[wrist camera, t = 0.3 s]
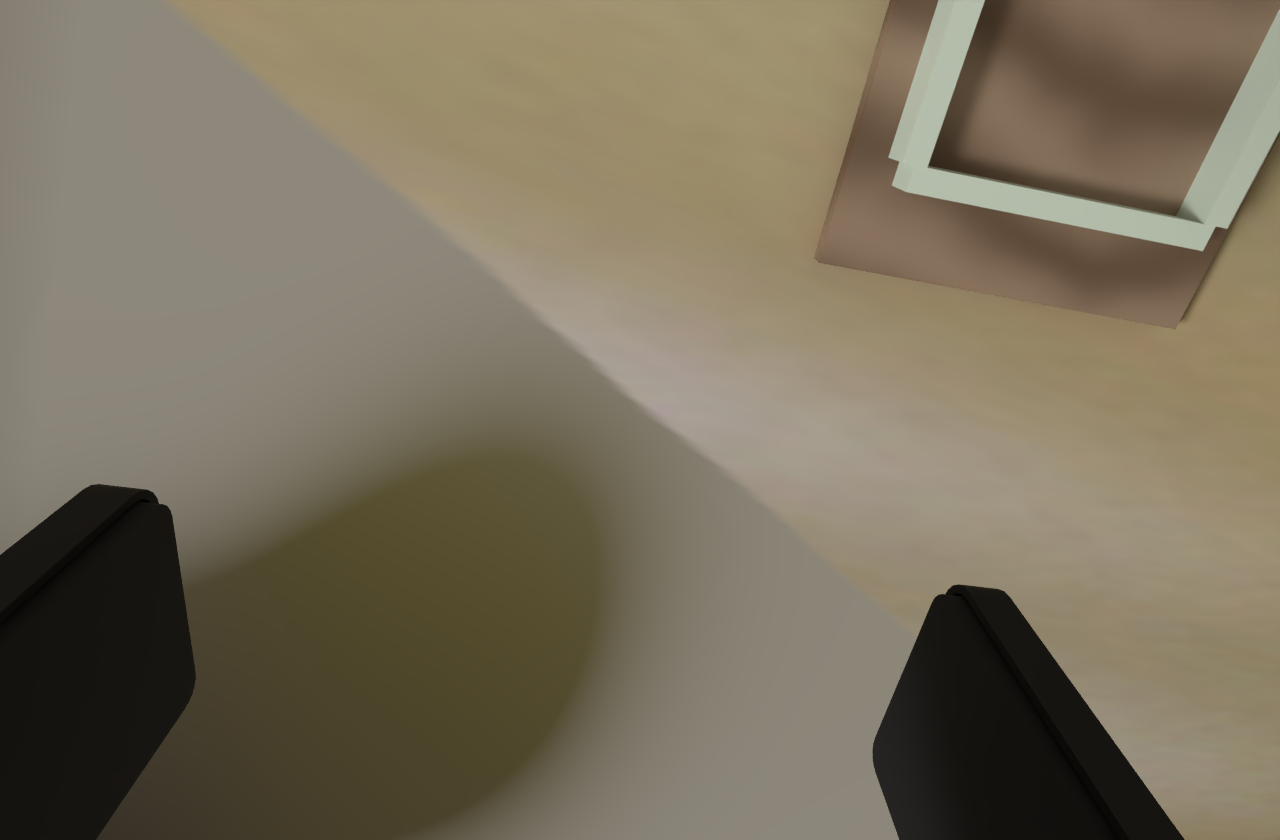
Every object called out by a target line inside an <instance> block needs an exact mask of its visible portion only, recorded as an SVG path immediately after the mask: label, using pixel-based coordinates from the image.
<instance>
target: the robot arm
mask: <svg viewBox="0 0 1280 840" xmlns="http://www.w3.org/2000/svg"><path fill="white" fill-rule="evenodd" d="M195 675H196V674H195V666H194V659H193V652H192V646H191V639H190V632H189V626H188V620H187V612H186V605H185V599H184V592H183V585H182V579H181V572H180V566H179V559H178V552H177V545H176V538H175V533H174V525H173V519H172V514H171V511H170V509H169V508H168V506H166V505H163V504H159V503H158V499H157V497H156V496H155V495H154V493H153V492H151V491H149V490H144V489H135V488H127V487H118V486H109V485H101V484H97V485H90V486H89V487H87V488H85V489H84V490H82V491H81V492H79V494H77V495H76V496H74V497H73V498H72V499H71V500H69V501H68V502H67V503H66V504H64V505H63V506H62V507H60V508H59V509H58V510H57V511H55V512H54V513H53V514H52V515H50V516H49V517H48V518H47V519H45V520H44V521H43V522H42V523H40V524H39V525H38V526H36V527H35V528H34V529H33V530H31V531H30V532H29V533H28V534H26V535H25V536H24V537H23V538H21V539H20V540H19V541H18V542H16V543H15V544H14V545H12V546H11V547H10V548H9V549H7V550H6V551H5V552H4V553H2V554H1V555H0V840H96V839H97V837H98V836H99V834H100V833H101V831H102V830H103V828H104V827H105V825H106V824H107V822H108V821H109V819H110V818H111V816H112V815H113V814H114V812H115V811H116V809H117V808H118V806H119V805H120V803H121V802H122V800H123V799H124V797H125V796H126V795H127V793H128V792H129V790H130V789H131V787H132V785H133V784H134V783H135V781H136V780H137V778H138V777H139V775H140V774H141V772H142V771H143V770H144V768H145V767H146V765H147V764H148V762H149V760H150V759H151V758H152V756H153V755H154V753H155V752H156V750H157V749H158V747H159V746H160V744H161V743H162V742H163V740H164V738H165V737H166V736H167V734H168V733H169V731H170V730H171V728H172V727H173V725H174V724H175V722H176V721H177V719H178V718H179V717H180V715H181V713H182V712H183V711H184V709H185V708H186V706H187V704H188V702H189V700H190V698H191V696H192V693H193V689H194V686H195V679H196V676H195ZM873 764H874V768H875V772H876V775H877V778H878V780H879V783H880V786H881V789H882V792H883V795H884V797H885V800H886V803H887V806H888V809H889V812H890V814H891V817H892V820H893V823H894V826H895V828H896V831H897V834H898V837H899V840H1184V838H1183V837H1182V835H1181V834H1180V833H1179V831H1178V830H1177V829H1176V827H1175V826H1174V824H1173V823H1172V822H1171V820H1170V819H1169V817H1168V816H1167V815H1166V813H1165V812H1164V810H1163V809H1162V808H1161V806H1160V805H1159V804H1158V802H1157V801H1156V799H1155V798H1154V797H1153V795H1152V794H1151V792H1150V791H1149V790H1148V788H1147V787H1146V786H1145V784H1144V783H1143V781H1142V780H1141V779H1140V777H1139V776H1138V774H1137V773H1136V772H1135V770H1134V769H1133V767H1132V766H1131V765H1130V763H1129V762H1128V761H1127V759H1126V758H1125V756H1124V755H1123V754H1122V752H1121V751H1120V749H1119V748H1118V747H1117V745H1116V744H1115V742H1114V741H1113V740H1112V738H1111V737H1110V736H1109V734H1108V733H1107V731H1106V730H1105V729H1104V727H1103V726H1102V724H1101V723H1100V722H1099V720H1098V719H1097V717H1096V716H1095V715H1094V713H1093V712H1092V711H1091V709H1090V708H1089V706H1088V705H1087V704H1086V702H1085V701H1084V699H1083V698H1082V697H1081V695H1080V694H1079V692H1078V691H1077V690H1076V688H1075V687H1074V686H1073V684H1072V683H1071V681H1070V680H1069V679H1068V677H1067V676H1066V674H1065V673H1064V672H1063V670H1062V669H1061V668H1060V666H1059V665H1058V663H1057V662H1056V661H1055V659H1054V658H1053V656H1052V655H1051V654H1050V652H1049V651H1048V649H1047V648H1046V647H1045V645H1044V644H1043V643H1042V641H1041V640H1040V638H1039V637H1038V636H1037V634H1036V633H1035V631H1034V630H1033V629H1032V627H1031V626H1030V624H1029V623H1028V622H1027V620H1026V619H1025V618H1024V616H1023V615H1022V613H1021V612H1020V611H1019V609H1018V608H1017V606H1016V605H1015V604H1014V602H1013V601H1012V599H1011V598H1010V597H1009V596H1008V595H1007V594H1006V593H1005V592H1004V591H1002V590H999V589H993V588H984V587H976V586H967V585H953V586H952V587H951V588H950V589H948V591H947V592H946V594H941V595H938V596H937V597H935V599H934V600H933V602H932V604H931V606H930V609H929V611H928V613H927V616H926V618H925V621H924V623H923V625H922V628H921V630H920V632H919V635H918V637H917V640H916V642H915V644H914V647H913V649H912V652H911V654H910V656H909V659H908V661H907V663H906V666H905V668H904V671H903V673H902V675H901V678H900V680H899V682H898V685H897V687H896V690H895V692H894V694H893V697H892V699H891V701H890V704H889V706H888V708H887V711H886V713H885V716H884V718H883V720H882V723H881V725H880V728H879V730H878V732H877V735H876V737H875V740H874V743H873Z"/></svg>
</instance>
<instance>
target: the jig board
mask: <svg viewBox="0 0 1280 840" xmlns="http://www.w3.org/2000/svg"><path fill="white" fill-rule="evenodd" d="M1279 135H1280V0H890V3H889V7H888V10H887V13H886V17H885V20H884V24H883V27H882V30H881V34H880V37H879V40H878V44H877V47H876V51H875V54H874V57H873V61H872V64H871V68H870V71H869V74H868V78H867V81H866V85H865V88H864V91H863V95H862V98H861V102H860V105H859V108H858V112H857V115H856V119H855V122H854V125H853V129H852V132H851V136H850V139H849V142H848V146H847V149H846V153H845V156H844V159H843V163H842V166H841V170H840V173H839V176H838V180H837V183H836V187H835V190H834V193H833V197H832V200H831V204H830V207H829V210H828V214H827V217H826V221H825V224H824V227H823V231H822V234H821V238H820V241H819V244H818V248H817V251H816V255H815V259H816V260H817V261H818V262H819V263H824V264H829V265H835V266H840V267H845V268H851V269H856V270H861V271H867V272H872V273H877V274H883V275H888V276H893V277H899V278H904V279H910V280H915V281H920V282H926V283H931V284H936V285H942V286H947V287H952V288H958V289H963V290H968V291H974V292H979V293H984V294H990V295H995V296H1000V297H1006V298H1011V299H1016V300H1022V301H1027V302H1032V303H1038V304H1043V305H1049V306H1054V307H1059V308H1065V309H1070V310H1075V311H1081V312H1086V313H1091V314H1097V315H1102V316H1107V317H1113V318H1118V319H1123V320H1129V321H1134V322H1139V323H1145V324H1150V325H1155V326H1161V327H1166V328H1172V329H1176V327H1177V325H1178V323H1179V322H1180V320H1181V318H1182V316H1183V314H1184V312H1185V310H1186V308H1187V307H1188V305H1189V303H1190V301H1191V299H1192V297H1193V295H1194V294H1195V292H1196V290H1197V288H1198V286H1199V284H1200V282H1201V280H1202V279H1203V277H1204V275H1205V273H1206V271H1207V269H1208V267H1209V265H1210V264H1211V262H1212V260H1213V258H1214V256H1215V254H1216V252H1217V251H1218V249H1219V247H1220V245H1221V243H1222V241H1223V239H1224V237H1225V236H1226V234H1227V232H1228V230H1229V228H1230V226H1231V224H1232V223H1233V221H1234V219H1235V217H1236V215H1237V213H1238V211H1239V209H1240V208H1241V206H1242V204H1243V202H1244V200H1245V198H1246V196H1247V194H1248V193H1249V191H1250V189H1251V187H1252V185H1253V183H1254V181H1255V180H1256V178H1257V176H1258V174H1259V172H1260V170H1261V168H1262V166H1263V165H1264V163H1265V161H1266V159H1267V157H1268V155H1269V153H1270V151H1271V150H1272V148H1273V146H1274V144H1275V142H1276V140H1277V138H1278V137H1279Z"/></svg>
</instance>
